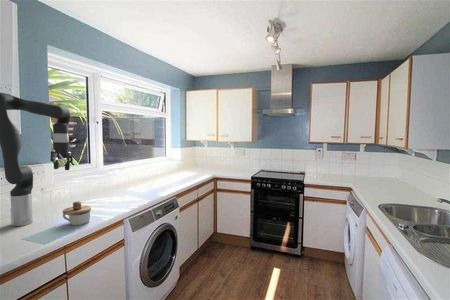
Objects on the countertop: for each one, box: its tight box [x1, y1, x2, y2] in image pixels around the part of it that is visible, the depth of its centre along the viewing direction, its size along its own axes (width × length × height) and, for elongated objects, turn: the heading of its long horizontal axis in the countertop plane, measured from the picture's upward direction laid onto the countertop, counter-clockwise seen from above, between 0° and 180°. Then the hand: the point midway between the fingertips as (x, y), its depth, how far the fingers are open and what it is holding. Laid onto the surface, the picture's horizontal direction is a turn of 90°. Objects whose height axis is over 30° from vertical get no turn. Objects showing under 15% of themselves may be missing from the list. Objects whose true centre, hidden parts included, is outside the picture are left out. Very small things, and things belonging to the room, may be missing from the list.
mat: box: [22, 226, 76, 245], centre depth 120 cm, size 16×16×1 cm
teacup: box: [62, 210, 91, 226], centre depth 137 cm, size 14×11×8 cm
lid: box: [62, 200, 92, 216], centre depth 137 cm, size 14×14×5 cm
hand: (61, 169), depth 135 cm, fingers open, 8 cm apart
